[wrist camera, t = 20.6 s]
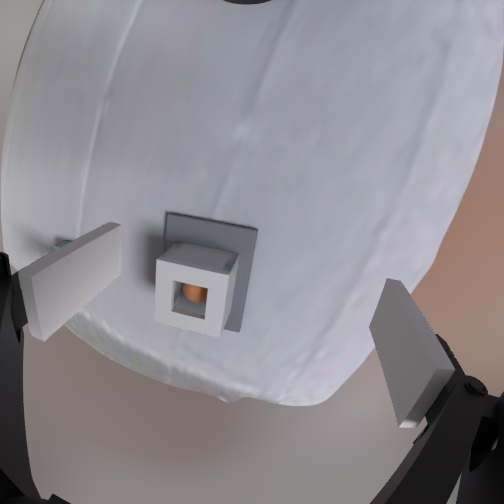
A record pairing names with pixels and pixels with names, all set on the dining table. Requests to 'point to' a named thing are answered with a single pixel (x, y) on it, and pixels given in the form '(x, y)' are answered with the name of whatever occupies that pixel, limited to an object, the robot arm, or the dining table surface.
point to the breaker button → (195, 292)
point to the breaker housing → (204, 274)
